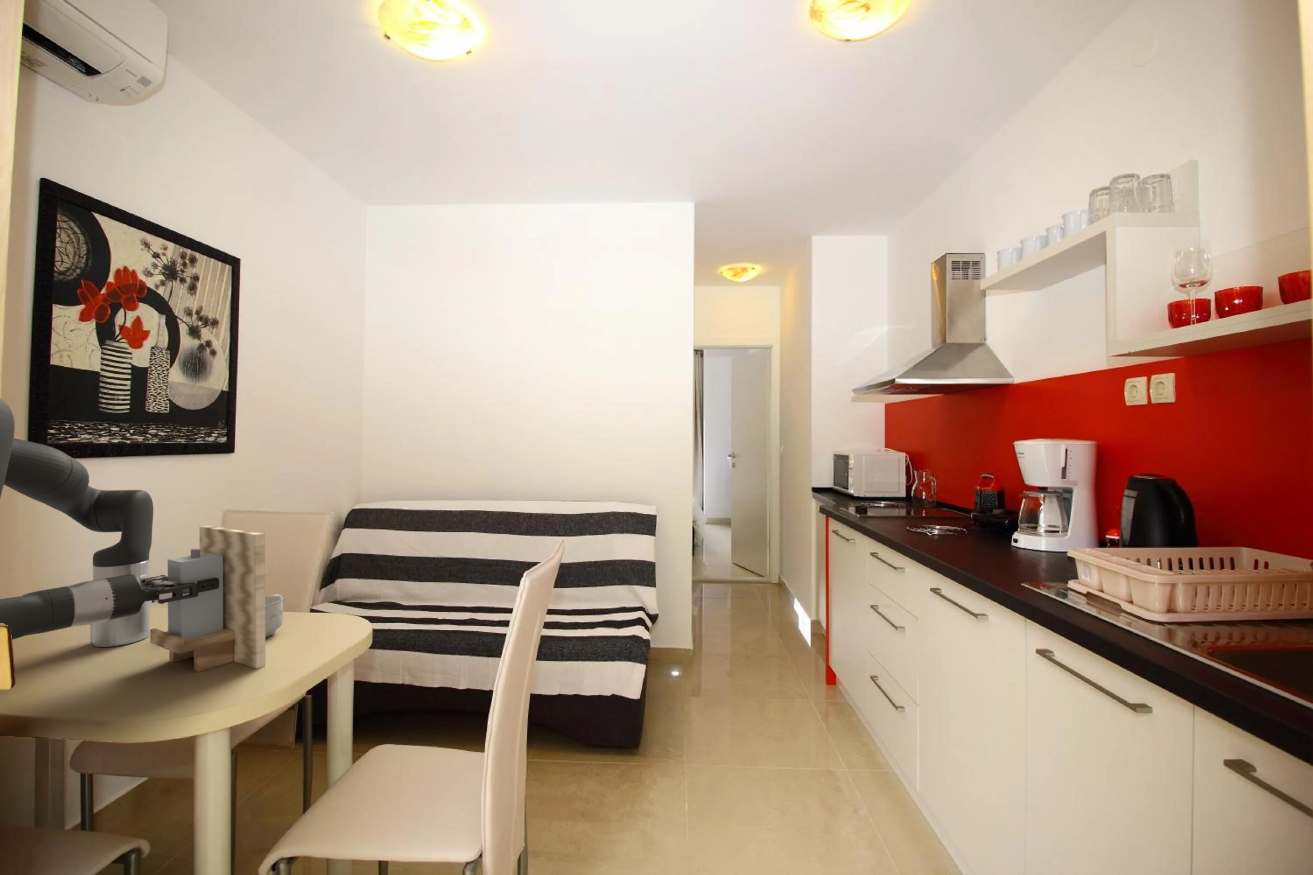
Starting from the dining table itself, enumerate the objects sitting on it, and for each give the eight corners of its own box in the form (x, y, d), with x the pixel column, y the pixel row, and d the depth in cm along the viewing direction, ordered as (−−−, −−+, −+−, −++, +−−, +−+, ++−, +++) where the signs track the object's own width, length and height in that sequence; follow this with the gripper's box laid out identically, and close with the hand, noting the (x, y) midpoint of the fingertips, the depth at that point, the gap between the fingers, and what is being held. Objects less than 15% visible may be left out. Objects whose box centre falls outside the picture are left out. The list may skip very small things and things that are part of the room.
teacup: (254, 646, 125) (253, 609, 125) (212, 643, 127) (212, 606, 127) (305, 625, 138) (305, 592, 138) (267, 623, 140) (266, 589, 140)
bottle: (167, 635, 114) (167, 551, 114) (209, 625, 120) (208, 545, 120) (181, 640, 111) (180, 553, 111) (223, 629, 118) (222, 547, 117)
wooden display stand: (145, 663, 115) (145, 533, 115) (208, 646, 125) (208, 525, 125) (201, 686, 105) (200, 542, 105) (265, 665, 114) (264, 533, 114)
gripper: (119, 583, 100) (225, 565, 114) (85, 574, 107) (190, 558, 121) (119, 627, 100) (226, 603, 114) (86, 615, 107) (190, 594, 121)
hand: (207, 580), depth 118 cm, fingers open, 8 cm apart
